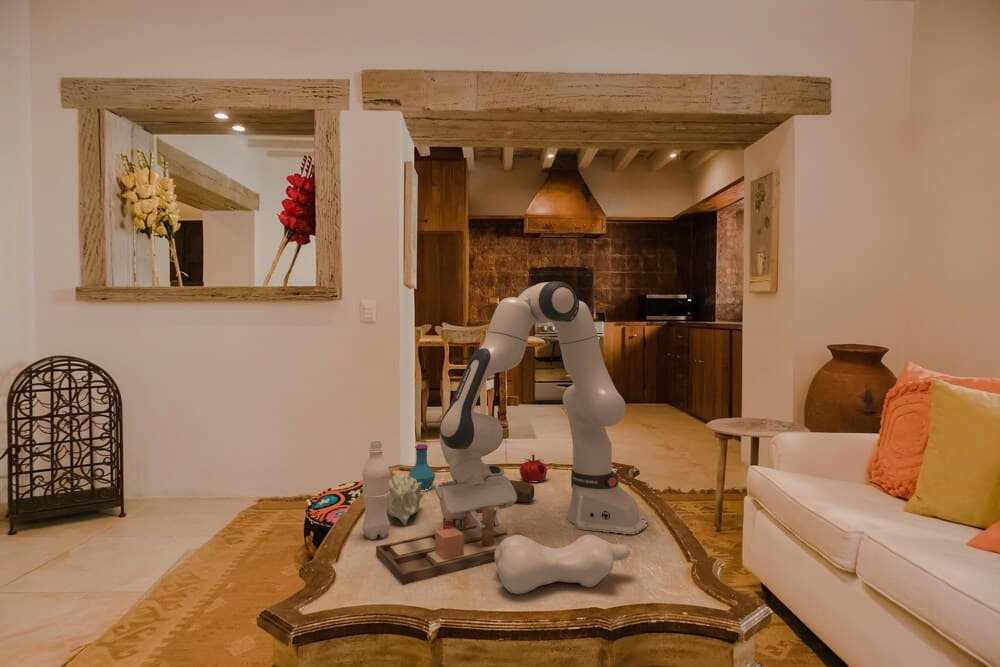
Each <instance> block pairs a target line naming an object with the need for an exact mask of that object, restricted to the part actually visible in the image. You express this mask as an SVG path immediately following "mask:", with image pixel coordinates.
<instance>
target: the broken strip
mask: <svg viewBox="0 0 1000 667" xmlns="http://www.w3.org/2000/svg"><path fill="white" fill-rule="evenodd" d="M460 532H462V533H463V534H464V542H465V541H469V540H473V539H478V538H482V530H480V531H478V530H477V528H473V529H468V530H464V531H460ZM434 548H435V540H434V539H433V538H427V539H422V540H417V541H413V542H408V543H403V544H399V545H394V546H390V552H391V553H392V554H393V555H394V556H395V557H399V556H403V555H407V554H412V553H416V552H421V551H425V550H429V549H434Z"/></svg>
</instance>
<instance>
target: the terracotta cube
mask: <svg viewBox="0 0 1000 667" xmlns="http://www.w3.org/2000/svg"><path fill="white" fill-rule="evenodd" d="M434 534H435V553H437V554H438V555H439V556H440V557H441V558H443V559H444V560H446V559H450V558H454V557H459V556H463V555H464V534H463V533H462V532H460V531H459V530H457V529H456V528H454V527H453V528H448V529H446V528H443V529H440V530H435V532H434Z"/></svg>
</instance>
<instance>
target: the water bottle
mask: <svg viewBox="0 0 1000 667" xmlns="http://www.w3.org/2000/svg"><path fill="white" fill-rule="evenodd" d="M369 446H370V447H369V450H368V452H369V456H368V459H367V461H366V462H365V465H364V466H363V469H362V472H361V473H362V474H361V475H362V495H361V497H362V500H363V501H364V502H363V503H364V506H365V513H364V518H363V521H362V522H363V523H362V525H361V526H362V532H363V535H364V537H365V538H368V539H370V540H377V537H378V535H379V537H380V538H381V539H383V538H385V537H386V536H387V535H388V533H389V530H390V526H391V523H390V520H389V517H388V511H387V504H388V500H389V497H390V491H389V480H390V474H391V472H390V468H389V466H388V463H387V462H386V460H385V458H384V456H383V451H384V450H383V442H382V441H381V440H380V441H379V440H375V441H373V440H372V441H370V444H369Z"/></svg>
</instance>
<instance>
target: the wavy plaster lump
mask: <svg viewBox="0 0 1000 667" xmlns="http://www.w3.org/2000/svg"><path fill="white" fill-rule="evenodd" d="M421 485H422V482H419V483H417V481H416V479H414V478H412V477H410V476H408V475H405V474H404V476H403V477H400V476H398V475H396V474H395V475H393V476H392V478H391V479H390V478H389V491H390V497H389V500H388V504H387V514H388V515H389V516H391V517H393V518H397V519H398V520H399V521H400V522H401V523H402V524H403V526H407V524H408V521H409V519H410V516H413V515H414V514H415V513H418V512H419V509H420V508H419V507H420V501H421V499H422V497H423V496H424V492H422V491H421Z"/></svg>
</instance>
